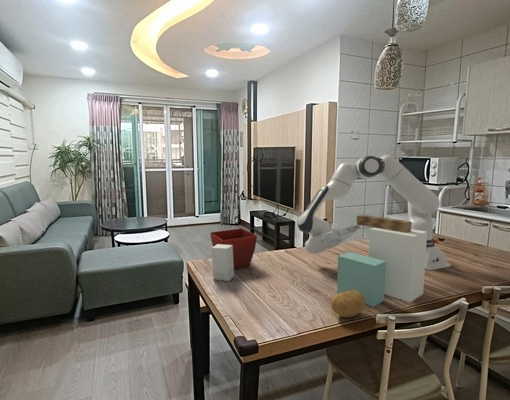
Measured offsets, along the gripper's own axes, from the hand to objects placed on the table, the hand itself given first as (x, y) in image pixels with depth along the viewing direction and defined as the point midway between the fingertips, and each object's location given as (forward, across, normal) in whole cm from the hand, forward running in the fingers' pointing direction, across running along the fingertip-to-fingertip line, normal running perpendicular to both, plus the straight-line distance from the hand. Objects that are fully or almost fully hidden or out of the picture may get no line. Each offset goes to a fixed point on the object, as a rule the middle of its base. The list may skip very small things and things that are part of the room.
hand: (353, 227), depth 145 cm
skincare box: (-46, -46, +1) cm, 65 cm away
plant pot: (-56, -30, -5) cm, 64 cm away
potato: (+4, -33, +30) cm, 45 cm away
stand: (+6, 0, +31) cm, 31 cm away
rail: (+13, 0, +5) cm, 14 cm away
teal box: (0, -16, +27) cm, 32 cm away
